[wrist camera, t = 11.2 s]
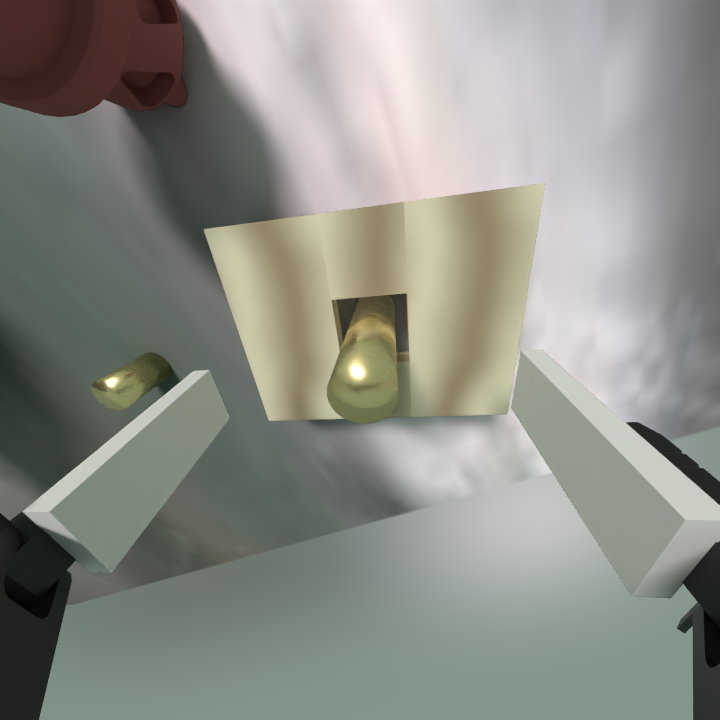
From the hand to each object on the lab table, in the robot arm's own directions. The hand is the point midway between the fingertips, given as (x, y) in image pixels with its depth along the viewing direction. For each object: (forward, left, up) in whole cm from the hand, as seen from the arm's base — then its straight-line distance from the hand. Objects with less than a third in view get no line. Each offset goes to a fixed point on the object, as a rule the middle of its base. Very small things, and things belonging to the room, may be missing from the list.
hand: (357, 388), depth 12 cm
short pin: (-22, -4, -12) cm, 25 cm away
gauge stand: (0, 0, -12) cm, 12 cm away
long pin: (0, 0, -12) cm, 12 cm away
